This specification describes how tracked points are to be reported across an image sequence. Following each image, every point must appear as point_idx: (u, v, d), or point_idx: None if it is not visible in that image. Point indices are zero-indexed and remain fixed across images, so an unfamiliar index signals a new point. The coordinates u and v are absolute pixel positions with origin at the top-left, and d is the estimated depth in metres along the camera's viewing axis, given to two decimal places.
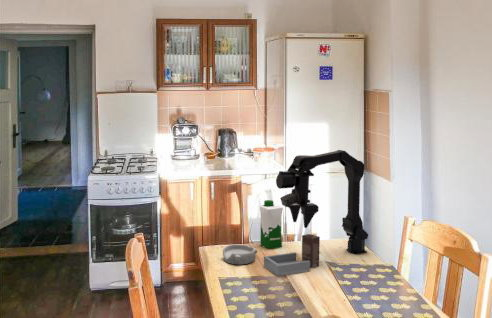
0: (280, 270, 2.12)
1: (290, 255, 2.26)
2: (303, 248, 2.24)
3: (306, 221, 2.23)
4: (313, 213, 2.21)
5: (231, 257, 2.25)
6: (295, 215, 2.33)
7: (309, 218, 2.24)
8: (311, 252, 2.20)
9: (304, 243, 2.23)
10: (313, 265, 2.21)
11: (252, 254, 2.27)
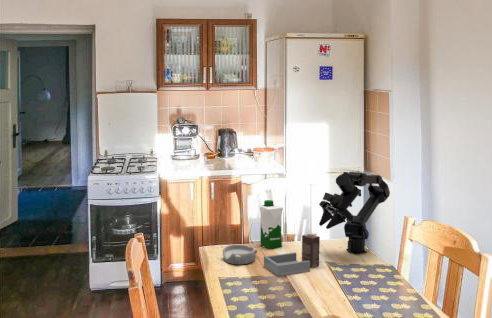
0: (280, 270, 2.12)
1: (290, 255, 2.26)
2: (303, 248, 2.24)
3: (331, 223, 2.27)
4: (343, 220, 2.26)
5: (231, 257, 2.25)
6: (324, 220, 2.33)
7: (335, 222, 2.28)
8: (311, 252, 2.20)
9: (304, 243, 2.23)
10: (313, 265, 2.21)
11: (252, 254, 2.27)
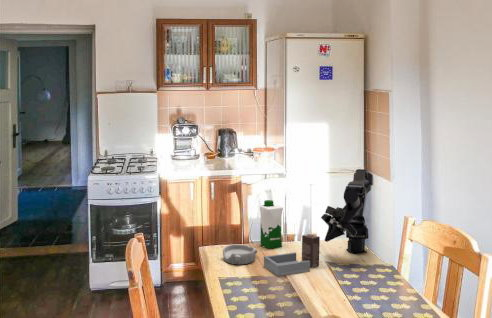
0: (280, 270, 2.12)
1: (290, 255, 2.26)
2: (303, 248, 2.24)
3: (331, 235, 2.25)
4: (342, 232, 2.24)
5: (231, 257, 2.25)
6: None
7: (335, 235, 2.25)
8: (311, 252, 2.20)
9: (304, 243, 2.23)
10: (313, 265, 2.21)
11: (252, 254, 2.27)
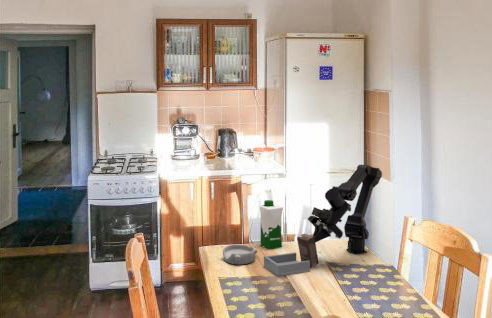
0: (280, 270, 2.12)
1: (290, 255, 2.26)
2: (300, 249, 2.23)
3: (317, 237, 2.22)
4: (328, 234, 2.21)
5: (231, 257, 2.25)
6: None
7: (321, 237, 2.23)
8: (308, 253, 2.19)
9: (300, 244, 2.22)
10: (313, 265, 2.21)
11: (252, 254, 2.27)
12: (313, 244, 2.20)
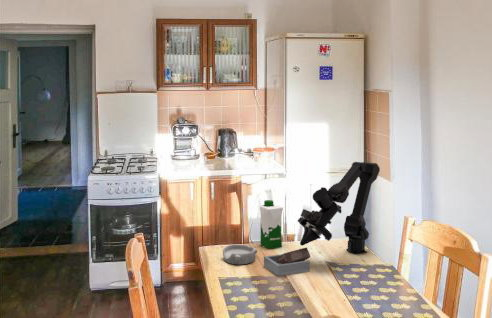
0: (280, 270, 2.12)
1: None
2: None
3: (306, 239, 2.21)
4: (318, 236, 2.20)
5: (231, 257, 2.25)
6: None
7: (310, 239, 2.21)
8: (298, 260, 2.18)
9: None
10: (308, 255, 2.21)
11: (252, 254, 2.27)
12: (291, 254, 2.17)
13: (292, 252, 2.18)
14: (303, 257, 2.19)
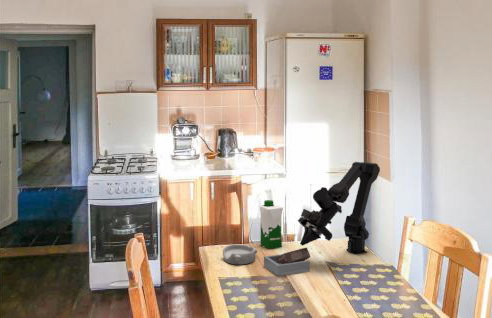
0: (280, 270, 2.12)
1: None
2: None
3: (306, 239, 2.21)
4: (318, 236, 2.20)
5: (231, 257, 2.25)
6: None
7: (310, 239, 2.21)
8: (298, 260, 2.18)
9: None
10: (308, 255, 2.21)
11: (252, 254, 2.27)
12: (291, 254, 2.17)
13: (292, 252, 2.18)
14: (303, 257, 2.19)
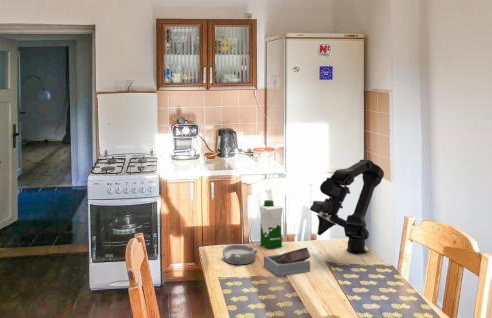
0: (280, 270, 2.12)
1: None
2: None
3: (322, 229, 2.26)
4: (333, 224, 2.25)
5: (231, 257, 2.25)
6: None
7: (326, 227, 2.26)
8: (298, 260, 2.18)
9: None
10: (308, 255, 2.21)
11: (252, 254, 2.27)
12: (291, 254, 2.17)
13: (292, 252, 2.18)
14: (303, 257, 2.19)
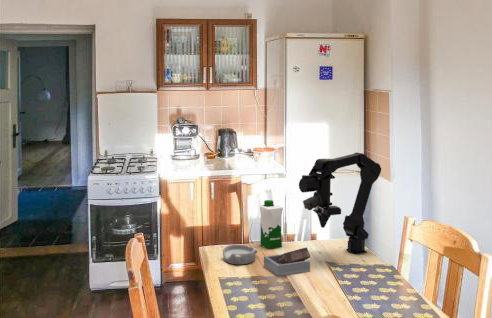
0: (280, 270, 2.12)
1: None
2: None
3: (323, 221, 2.30)
4: None
5: (231, 257, 2.25)
6: None
7: (326, 218, 2.30)
8: (298, 260, 2.18)
9: None
10: (308, 255, 2.21)
11: (252, 254, 2.27)
12: (291, 254, 2.17)
13: (292, 252, 2.18)
14: (303, 257, 2.19)
